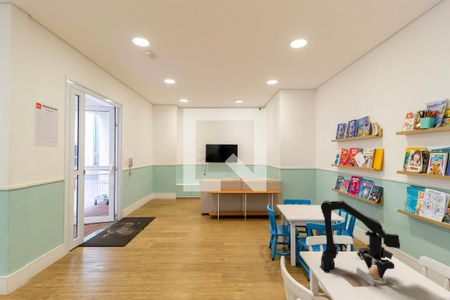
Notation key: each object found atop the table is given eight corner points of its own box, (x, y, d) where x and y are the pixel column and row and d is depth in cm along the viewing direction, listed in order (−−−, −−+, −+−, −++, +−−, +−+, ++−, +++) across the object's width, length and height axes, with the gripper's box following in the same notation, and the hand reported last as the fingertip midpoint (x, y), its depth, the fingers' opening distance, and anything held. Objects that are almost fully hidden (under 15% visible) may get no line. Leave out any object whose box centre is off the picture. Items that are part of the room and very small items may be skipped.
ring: (373, 284, 116) (373, 282, 116) (361, 274, 125) (361, 272, 125) (390, 283, 117) (390, 281, 117) (377, 273, 126) (377, 272, 126)
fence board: (353, 288, 113) (353, 279, 114) (339, 275, 125) (339, 267, 125) (394, 286, 115) (394, 278, 115) (376, 274, 127) (376, 266, 127)
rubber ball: (374, 281, 118) (374, 270, 118) (366, 275, 124) (366, 264, 124) (385, 281, 118) (385, 269, 118) (376, 275, 124) (376, 264, 124)
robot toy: (387, 269, 135) (372, 256, 150) (388, 261, 135) (373, 249, 150) (366, 268, 136) (353, 255, 151) (366, 261, 136) (354, 248, 151)
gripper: (404, 251, 113) (404, 283, 112) (376, 237, 131) (376, 264, 131) (383, 252, 112) (383, 284, 111) (358, 238, 130) (358, 265, 130)
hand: (375, 273), depth 121 cm, fingers open, 8 cm apart
